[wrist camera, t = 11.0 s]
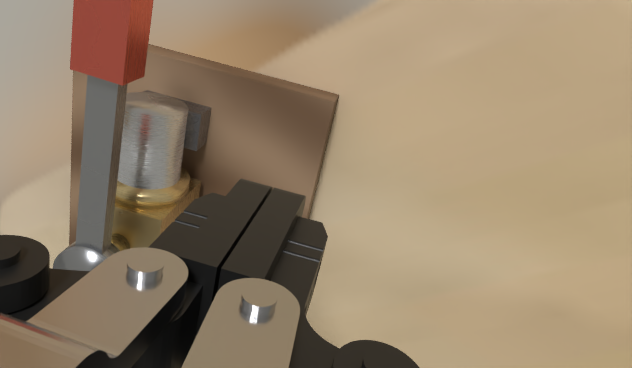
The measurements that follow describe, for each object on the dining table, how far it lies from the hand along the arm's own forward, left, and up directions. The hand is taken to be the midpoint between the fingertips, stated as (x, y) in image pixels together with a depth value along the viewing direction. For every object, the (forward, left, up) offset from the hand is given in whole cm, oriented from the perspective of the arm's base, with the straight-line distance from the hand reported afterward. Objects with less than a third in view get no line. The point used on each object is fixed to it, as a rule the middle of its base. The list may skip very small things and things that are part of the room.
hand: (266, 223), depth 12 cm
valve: (-9, +8, -15) cm, 19 cm away
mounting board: (-8, +7, -17) cm, 20 cm away
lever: (-3, +8, -8) cm, 12 cm away
